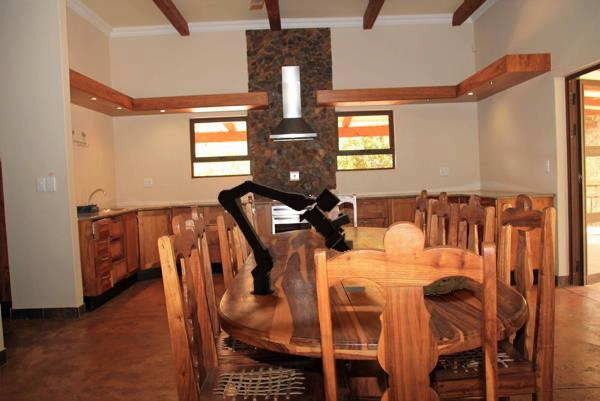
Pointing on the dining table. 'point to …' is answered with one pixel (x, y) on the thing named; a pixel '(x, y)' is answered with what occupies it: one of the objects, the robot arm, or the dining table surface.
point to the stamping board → (354, 289)
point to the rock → (446, 285)
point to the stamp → (349, 243)
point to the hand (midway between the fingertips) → (352, 254)
